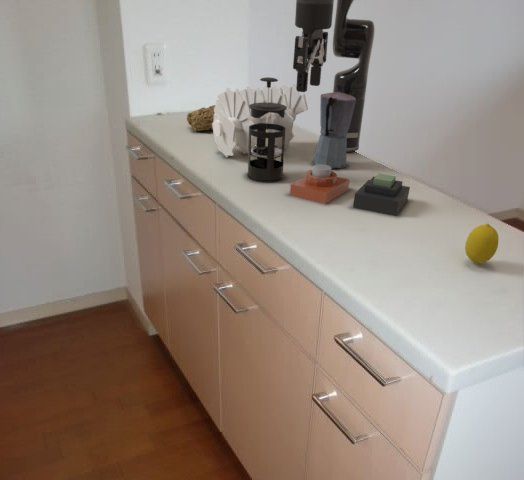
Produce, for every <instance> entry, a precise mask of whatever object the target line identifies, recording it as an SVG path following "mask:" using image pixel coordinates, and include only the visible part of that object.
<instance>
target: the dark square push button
mask: <svg viewBox="0 0 524 480" xmlns="http://www.w3.org/2000/svg"><path fill="white" fill-rule="evenodd" d="M375 177H376V176H372V177H371V178H370V179H367V180H366V182H365V183H364V184H363V185H362V186H360V187H359V189H358V190H356V192H355V193H354V197H353V204H352V208H353V209H356V210H363V211H366V212H367V211H368V212H373V213H378V214H384V215H388V216H394V217H397V216H398V214H399V213H400V212H401V210H402V209H403V208H404V206H405V205H406V204H407V202H408V200H409V194H410V189H411V186H407V185H403V181H402V180H397V179H395V184H394V185H393V186H392V187H391V188H390V187H384V186H378V185H373V182H374V178H375Z"/></svg>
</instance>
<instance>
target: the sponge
mask: <svg viewBox="0 0 524 480" xmlns="http://www.w3.org/2000/svg"><path fill="white" fill-rule="evenodd" d="M215 105H216V104H213V105H210V106H208V107H201V108H199V109H196V110H194V111H191V112H188V113H187V114H186V121H187V123H188V125H189V126H190V127H191V128H192V129H193V131H194V132H202V131H211V130H213V127H212V123H213V122H214V114H215V113H214V108H215Z"/></svg>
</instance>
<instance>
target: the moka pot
mask: <svg viewBox="0 0 524 480" xmlns="http://www.w3.org/2000/svg"><path fill="white" fill-rule="evenodd" d="M342 88H343V86H342V85H337V92H333V91H332V92H325V93H321V94H320V106H319V107H320V114H319V115H320V120H319V122H320V131H319V132H320V134H319V137H318V142H317V145H316V150H315V152H314V157H313V164H314V165H317V164H324V165H328V166H330V167H331V169H343V168H346V166H347V152H346V148H347V138H346V136H347V132H348V129H349V127H350V123H351V119H352V115H353V111H354V107H355V103H356V99H355V97H353V96H351V95H348V94H345V93H342V92H341V91H342Z"/></svg>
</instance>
